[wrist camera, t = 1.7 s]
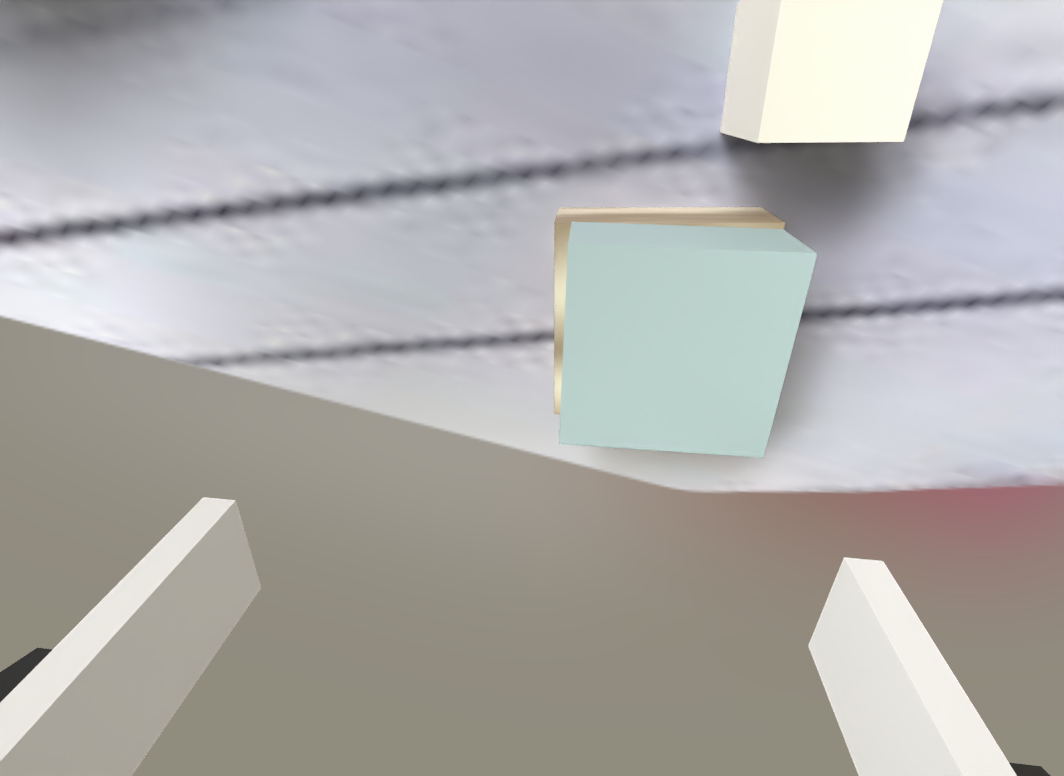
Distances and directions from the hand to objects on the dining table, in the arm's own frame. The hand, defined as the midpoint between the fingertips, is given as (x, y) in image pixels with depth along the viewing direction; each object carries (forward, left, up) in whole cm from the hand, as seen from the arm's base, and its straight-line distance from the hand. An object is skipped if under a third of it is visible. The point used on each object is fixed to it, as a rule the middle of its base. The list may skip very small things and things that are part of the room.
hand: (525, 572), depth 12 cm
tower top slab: (+2, +6, -21) cm, 22 cm away
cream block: (-10, +11, -26) cm, 30 cm away
